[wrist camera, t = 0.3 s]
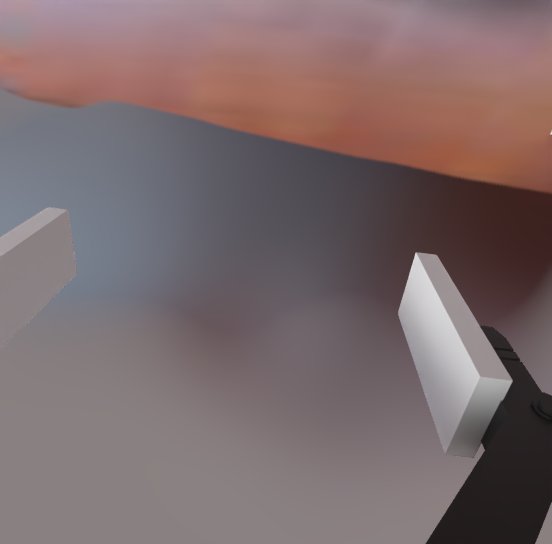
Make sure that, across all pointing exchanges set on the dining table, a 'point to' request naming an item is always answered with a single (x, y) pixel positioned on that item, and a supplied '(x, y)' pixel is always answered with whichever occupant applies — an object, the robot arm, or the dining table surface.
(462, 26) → the dining table surface
